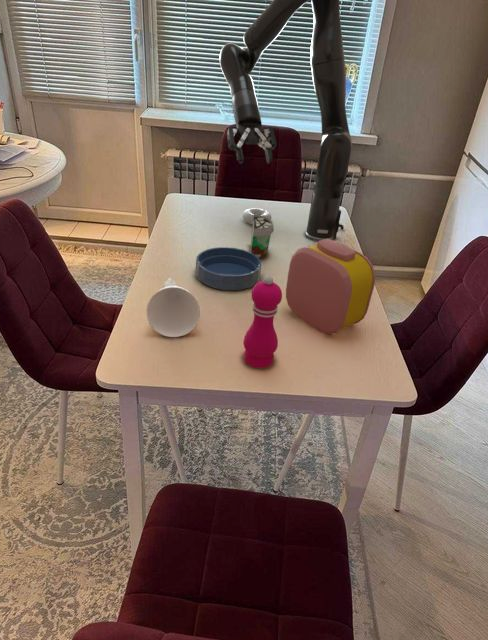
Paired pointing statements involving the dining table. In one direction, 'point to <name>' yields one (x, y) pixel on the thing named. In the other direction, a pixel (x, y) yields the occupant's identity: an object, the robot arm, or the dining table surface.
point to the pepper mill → (262, 324)
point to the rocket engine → (173, 310)
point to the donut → (250, 213)
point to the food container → (261, 235)
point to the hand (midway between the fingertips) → (255, 162)
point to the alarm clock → (329, 285)
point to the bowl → (228, 268)
